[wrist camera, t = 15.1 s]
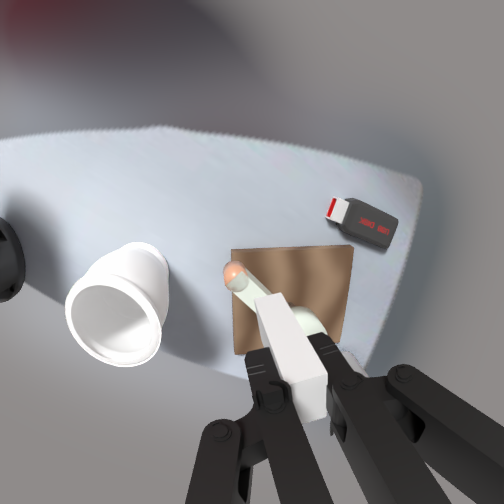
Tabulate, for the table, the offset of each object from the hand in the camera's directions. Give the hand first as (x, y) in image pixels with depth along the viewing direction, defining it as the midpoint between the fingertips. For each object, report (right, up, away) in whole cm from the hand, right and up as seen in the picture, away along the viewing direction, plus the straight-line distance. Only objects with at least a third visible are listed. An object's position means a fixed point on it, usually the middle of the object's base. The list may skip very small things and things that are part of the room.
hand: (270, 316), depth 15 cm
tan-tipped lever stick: (+2, -3, +20) cm, 21 cm away
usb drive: (+15, +8, +26) cm, 31 cm away
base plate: (+5, -4, +27) cm, 28 cm away
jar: (-17, +1, +23) cm, 28 cm away
